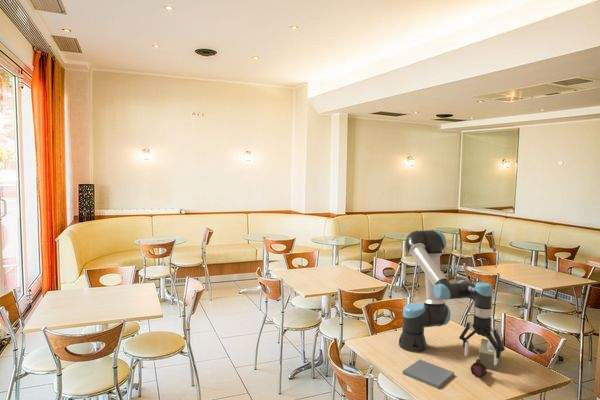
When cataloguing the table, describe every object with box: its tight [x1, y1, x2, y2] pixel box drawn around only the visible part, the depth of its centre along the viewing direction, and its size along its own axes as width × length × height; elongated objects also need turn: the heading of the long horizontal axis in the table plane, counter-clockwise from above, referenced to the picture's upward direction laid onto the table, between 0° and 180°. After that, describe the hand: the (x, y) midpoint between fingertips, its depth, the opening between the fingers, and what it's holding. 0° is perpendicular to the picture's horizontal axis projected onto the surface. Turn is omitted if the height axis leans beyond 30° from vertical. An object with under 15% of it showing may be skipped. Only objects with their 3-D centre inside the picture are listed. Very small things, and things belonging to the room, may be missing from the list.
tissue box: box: [478, 333, 502, 372], centre depth 207 cm, size 19×10×16 cm, turn 152°
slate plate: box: [402, 359, 455, 389], centre depth 193 cm, size 18×17×2 cm
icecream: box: [470, 358, 488, 378], centre depth 192 cm, size 7×7×15 cm
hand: (480, 359), depth 191 cm, fingers open, 13 cm apart
